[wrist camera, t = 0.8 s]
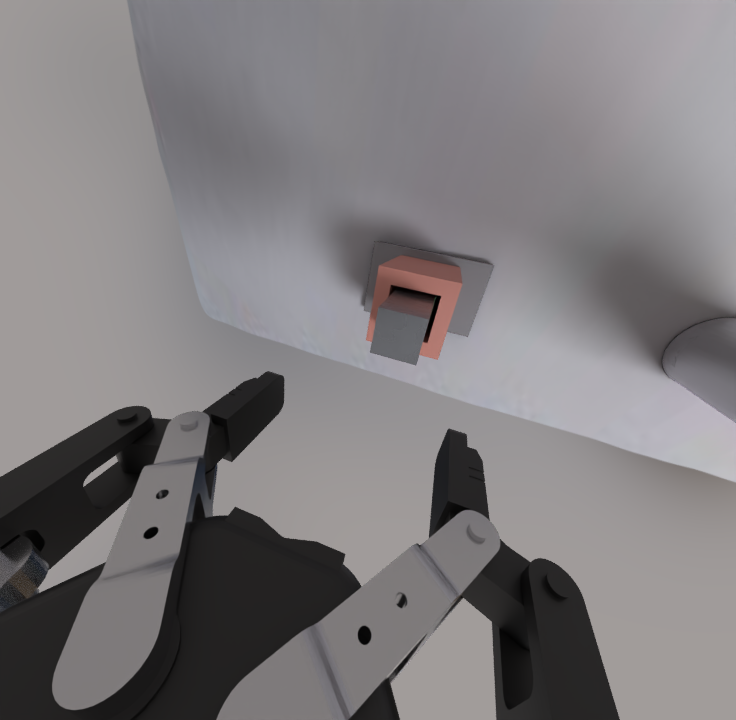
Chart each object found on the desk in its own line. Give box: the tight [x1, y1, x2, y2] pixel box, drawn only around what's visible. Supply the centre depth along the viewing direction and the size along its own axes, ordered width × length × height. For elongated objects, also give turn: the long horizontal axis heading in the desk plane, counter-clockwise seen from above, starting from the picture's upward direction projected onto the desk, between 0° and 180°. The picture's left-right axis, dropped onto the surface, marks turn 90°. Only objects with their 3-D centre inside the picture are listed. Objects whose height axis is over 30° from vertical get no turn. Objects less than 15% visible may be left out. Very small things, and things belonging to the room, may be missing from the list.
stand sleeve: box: [364, 241, 494, 360], centre depth 33 cm, size 16×10×15 cm, turn 80°
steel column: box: [370, 286, 436, 365], centre depth 29 cm, size 4×4×18 cm
